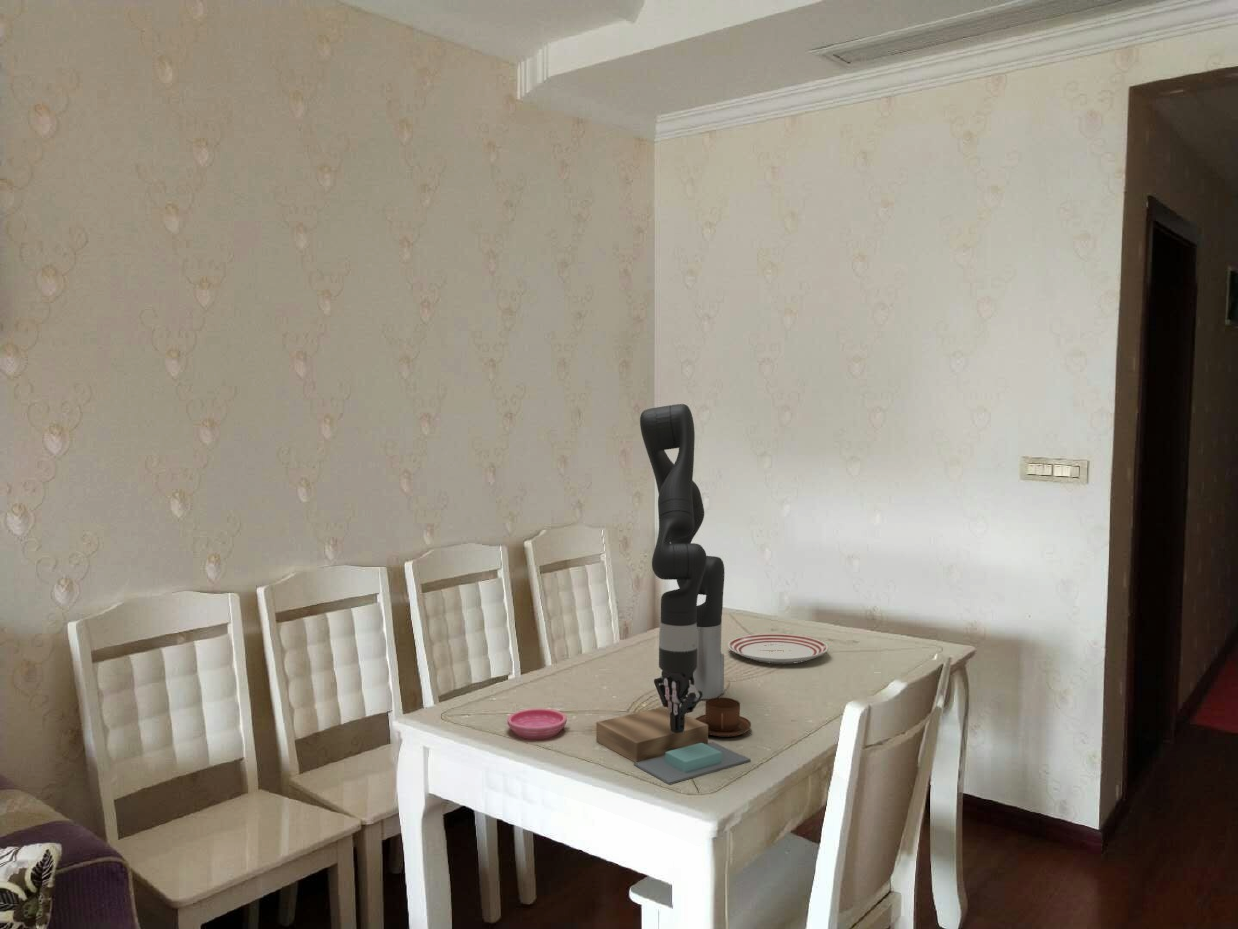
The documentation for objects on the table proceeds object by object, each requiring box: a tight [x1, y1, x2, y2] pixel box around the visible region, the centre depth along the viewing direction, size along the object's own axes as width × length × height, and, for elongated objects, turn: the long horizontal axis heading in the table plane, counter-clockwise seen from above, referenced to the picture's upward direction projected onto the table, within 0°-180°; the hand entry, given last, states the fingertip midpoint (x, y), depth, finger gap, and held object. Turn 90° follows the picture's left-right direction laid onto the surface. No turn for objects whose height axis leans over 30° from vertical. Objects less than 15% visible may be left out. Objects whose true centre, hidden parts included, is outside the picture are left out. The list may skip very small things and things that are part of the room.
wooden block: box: [595, 706, 709, 763], centre depth 191 cm, size 18×14×4 cm
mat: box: [633, 741, 751, 785], centre depth 181 cm, size 20×11×1 cm, turn 125°
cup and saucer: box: [695, 697, 752, 738], centre depth 199 cm, size 12×12×6 cm
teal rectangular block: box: [665, 743, 722, 772], centre depth 180 cm, size 9×6×2 cm, turn 125°
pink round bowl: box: [506, 708, 568, 740], centre depth 198 cm, size 12×12×3 cm
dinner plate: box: [727, 633, 829, 664], centre depth 259 cm, size 28×27×3 cm
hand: (677, 731), depth 184 cm, fingers closed
